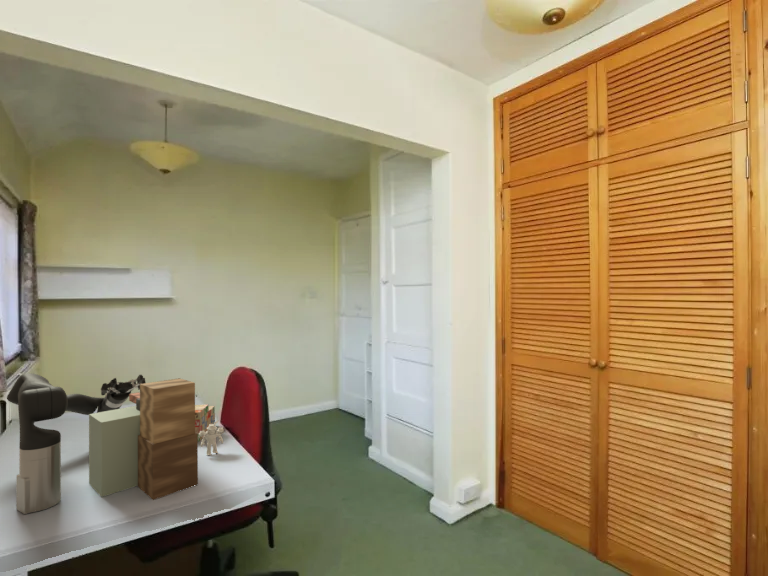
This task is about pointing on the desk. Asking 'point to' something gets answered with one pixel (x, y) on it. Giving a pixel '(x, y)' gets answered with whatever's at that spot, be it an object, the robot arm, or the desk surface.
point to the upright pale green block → (114, 450)
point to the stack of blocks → (203, 418)
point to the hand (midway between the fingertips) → (128, 378)
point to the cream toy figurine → (211, 437)
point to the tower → (167, 438)
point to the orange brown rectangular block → (135, 399)
